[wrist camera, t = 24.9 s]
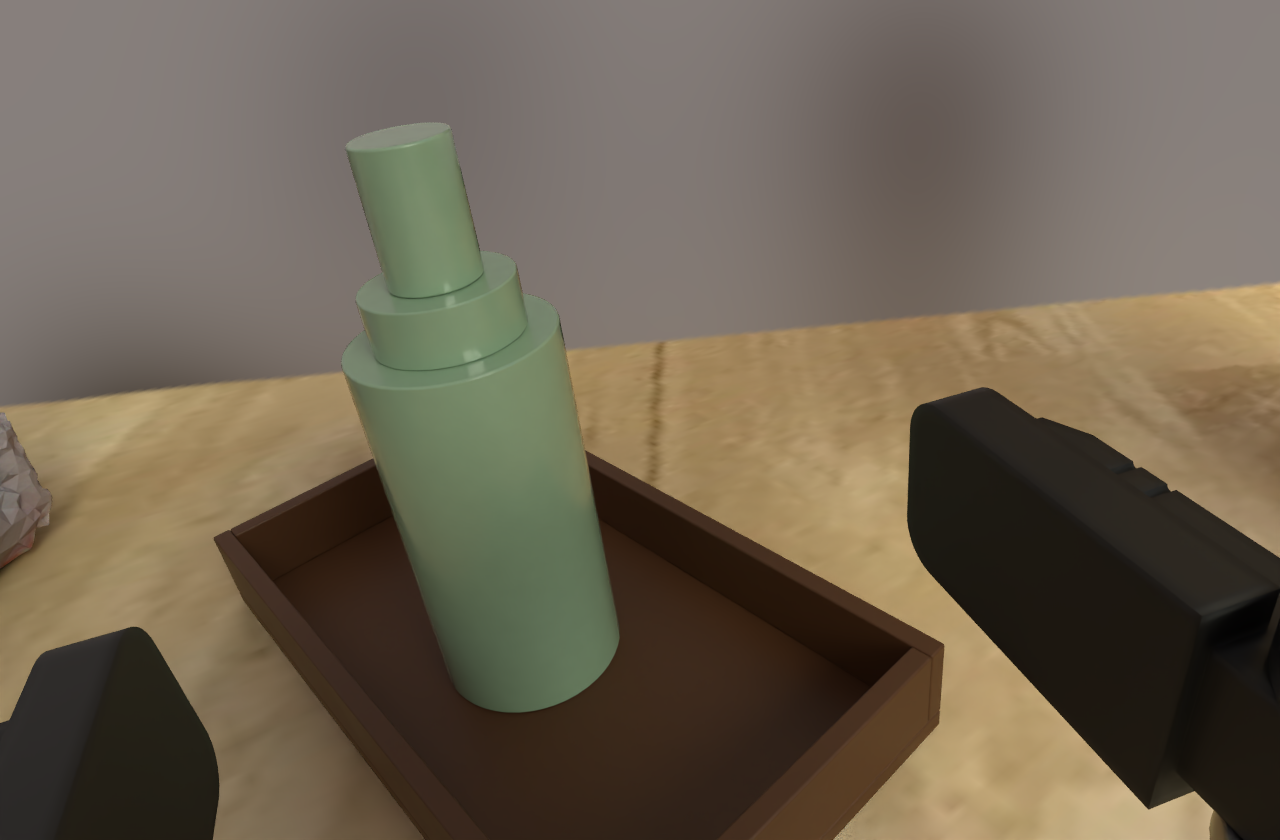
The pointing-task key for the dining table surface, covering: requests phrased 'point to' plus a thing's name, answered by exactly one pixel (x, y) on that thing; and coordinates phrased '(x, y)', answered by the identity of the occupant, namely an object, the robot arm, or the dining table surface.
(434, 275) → the sage bottle
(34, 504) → the grey rough block
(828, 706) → the tray
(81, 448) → the dining table surface
